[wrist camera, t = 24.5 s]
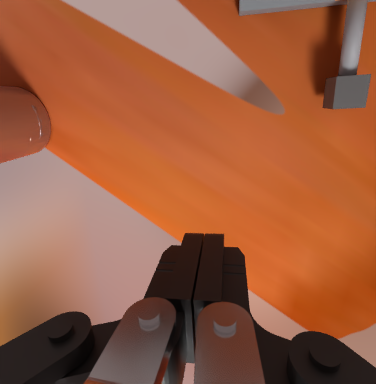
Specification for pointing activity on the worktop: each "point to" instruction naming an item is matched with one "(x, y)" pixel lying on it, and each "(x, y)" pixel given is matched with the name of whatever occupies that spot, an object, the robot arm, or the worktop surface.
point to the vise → (283, 5)
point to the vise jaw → (349, 64)
